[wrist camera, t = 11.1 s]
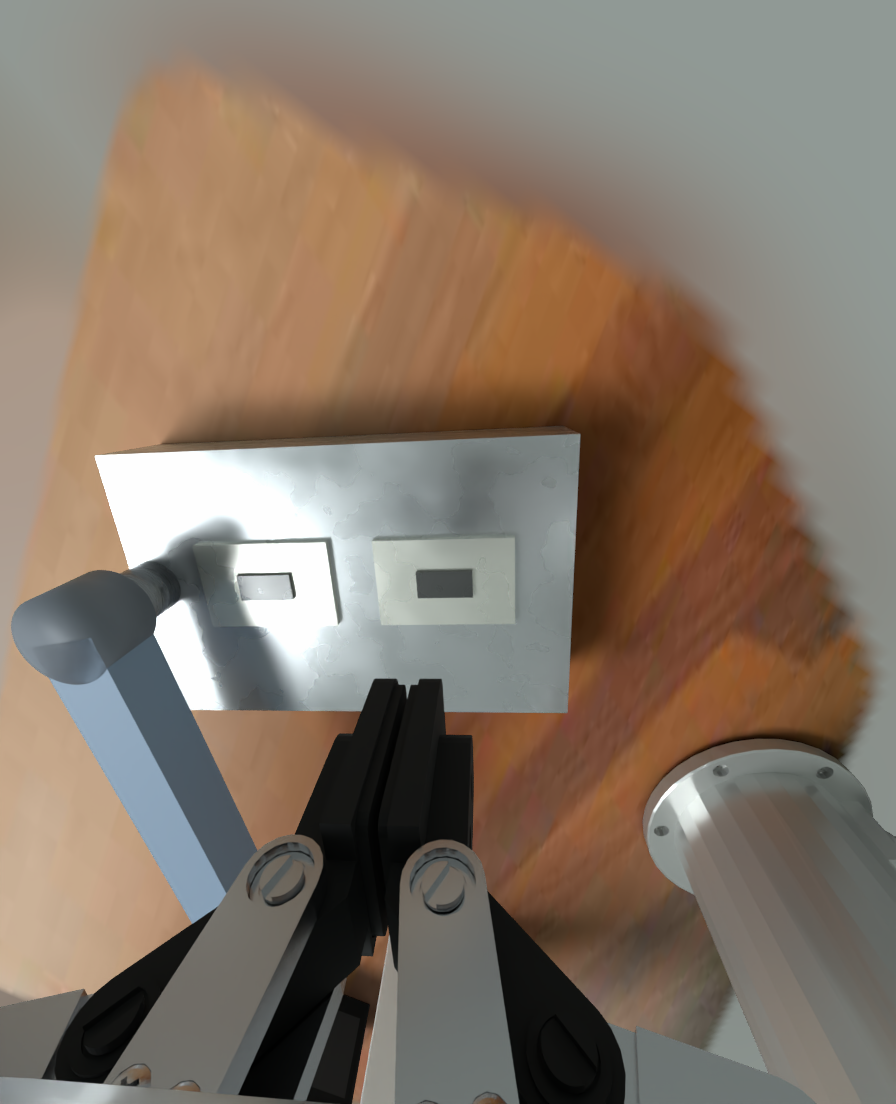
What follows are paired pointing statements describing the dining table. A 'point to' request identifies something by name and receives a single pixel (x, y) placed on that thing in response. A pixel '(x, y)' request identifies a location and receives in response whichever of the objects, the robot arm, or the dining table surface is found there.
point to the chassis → (357, 565)
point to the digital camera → (341, 1055)
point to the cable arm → (138, 729)
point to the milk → (383, 1041)
